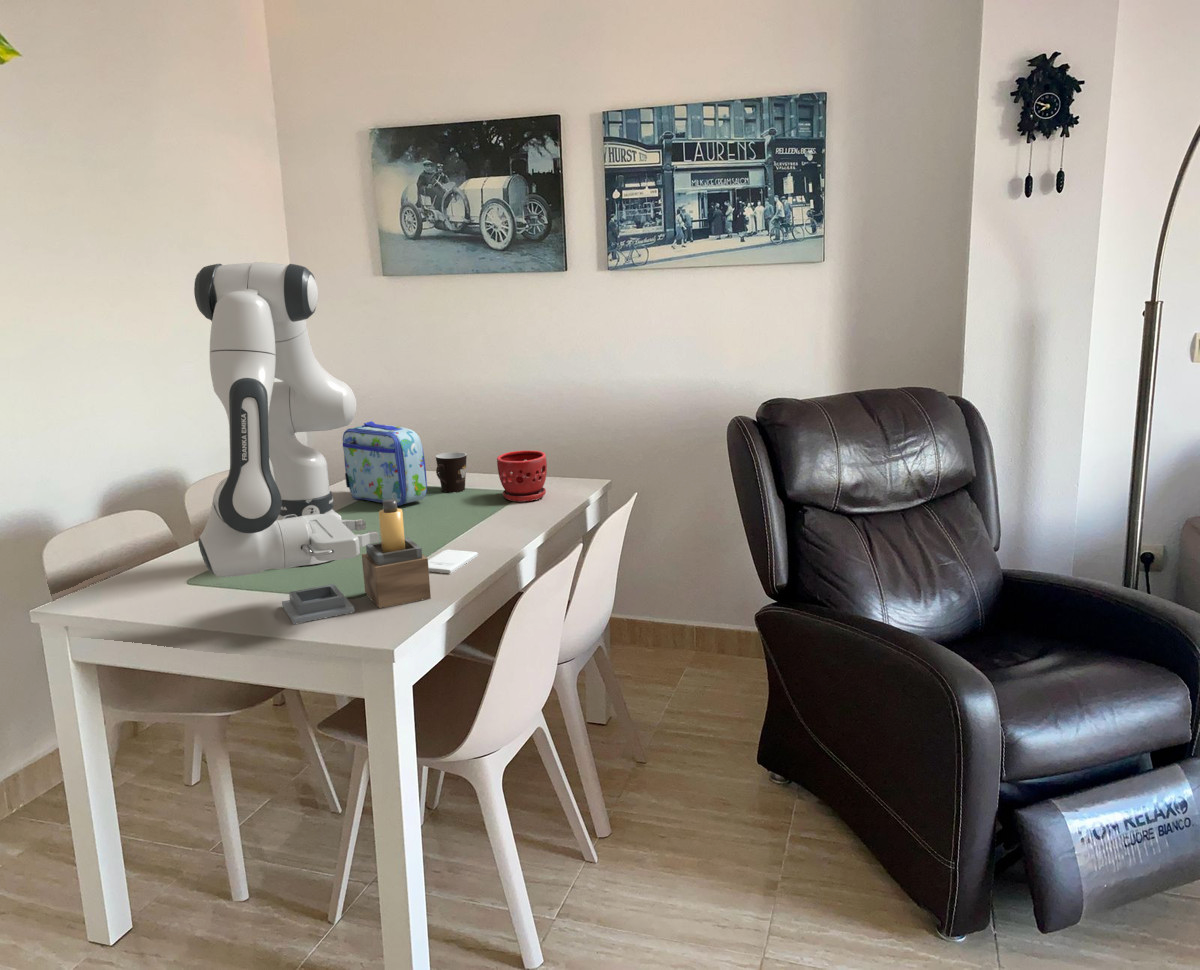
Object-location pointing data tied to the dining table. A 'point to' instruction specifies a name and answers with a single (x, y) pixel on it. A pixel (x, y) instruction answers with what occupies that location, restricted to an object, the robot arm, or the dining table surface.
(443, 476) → the coffee mug
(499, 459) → the plant pot
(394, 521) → the yellow bottle
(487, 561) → the dining table surface
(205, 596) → the dining table surface
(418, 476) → the lunch box
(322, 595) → the low socket
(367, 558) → the walnut stand
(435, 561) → the external hard drive
